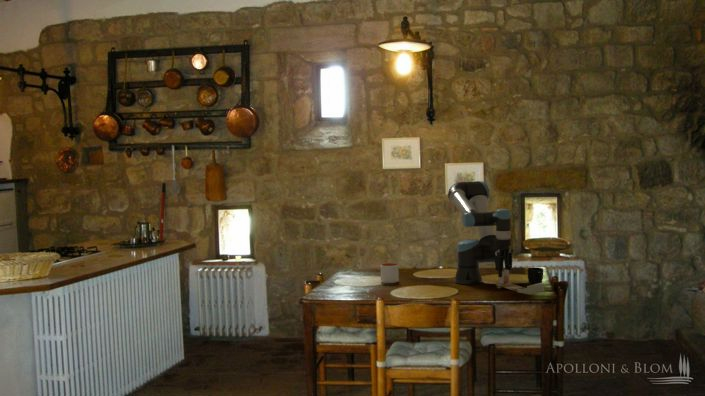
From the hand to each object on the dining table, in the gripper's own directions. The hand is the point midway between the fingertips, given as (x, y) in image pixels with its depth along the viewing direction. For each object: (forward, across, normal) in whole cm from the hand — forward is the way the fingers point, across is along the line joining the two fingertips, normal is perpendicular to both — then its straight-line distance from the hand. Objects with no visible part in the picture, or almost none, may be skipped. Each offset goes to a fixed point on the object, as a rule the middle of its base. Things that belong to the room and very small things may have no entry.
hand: (504, 282), depth 357 cm
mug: (+3, +12, -12) cm, 17 cm away
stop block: (+3, 0, -16) cm, 17 cm away
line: (+3, 0, -13) cm, 13 cm away
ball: (-2, 0, 0) cm, 2 cm away
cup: (+3, -30, +57) cm, 64 cm away
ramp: (+3, 0, -5) cm, 6 cm away
